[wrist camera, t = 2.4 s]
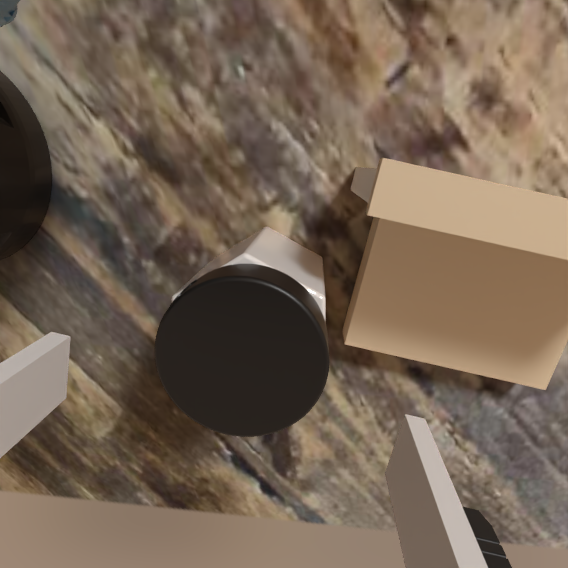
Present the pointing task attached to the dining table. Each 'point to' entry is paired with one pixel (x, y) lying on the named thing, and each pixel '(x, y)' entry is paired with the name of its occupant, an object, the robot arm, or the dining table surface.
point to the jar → (248, 338)
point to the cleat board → (461, 273)
